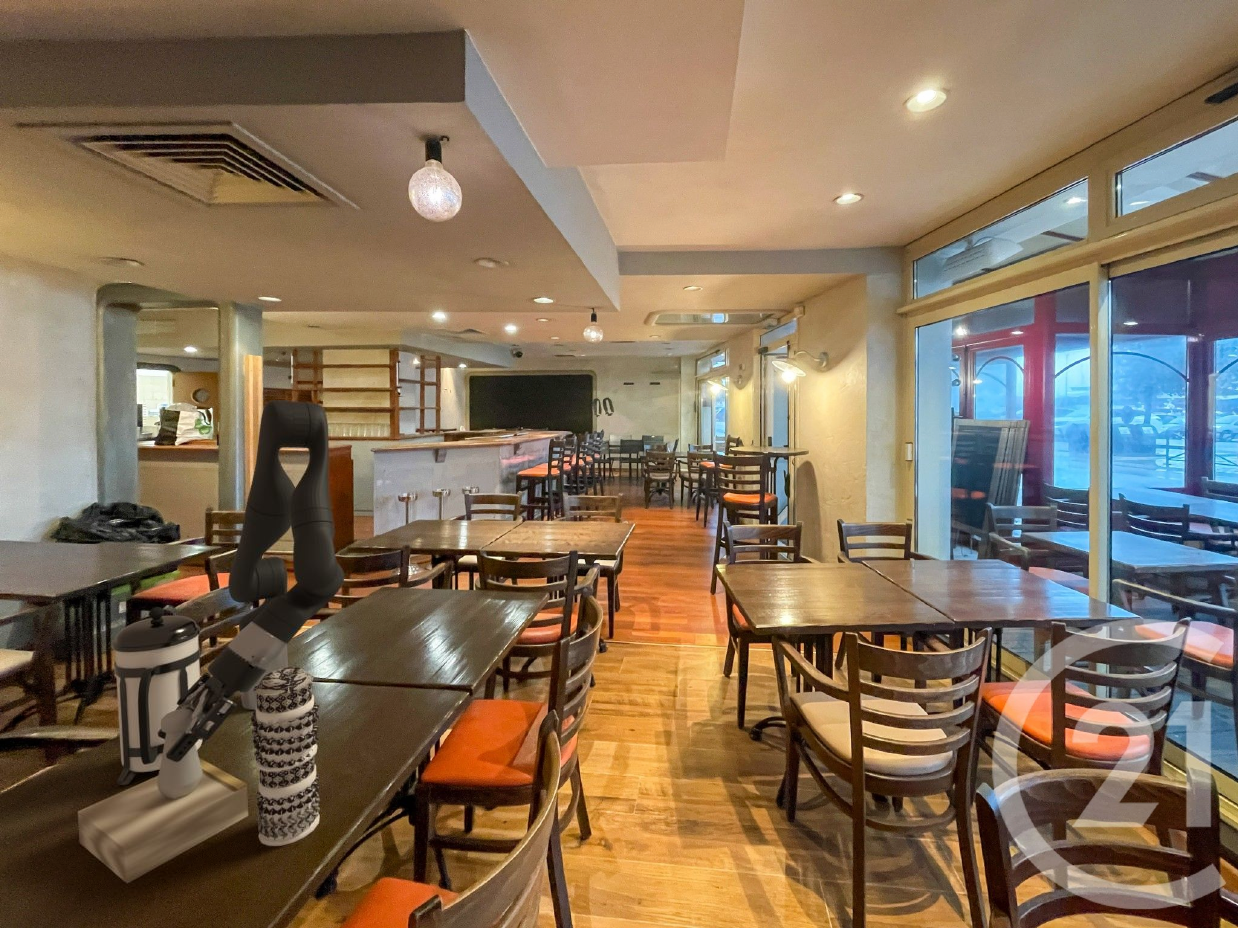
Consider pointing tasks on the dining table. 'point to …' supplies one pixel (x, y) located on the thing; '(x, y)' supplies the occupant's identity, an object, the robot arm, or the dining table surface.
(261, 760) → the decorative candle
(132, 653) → the coffee press
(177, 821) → the wood block
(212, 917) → the dining table surface
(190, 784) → the salt shaker
